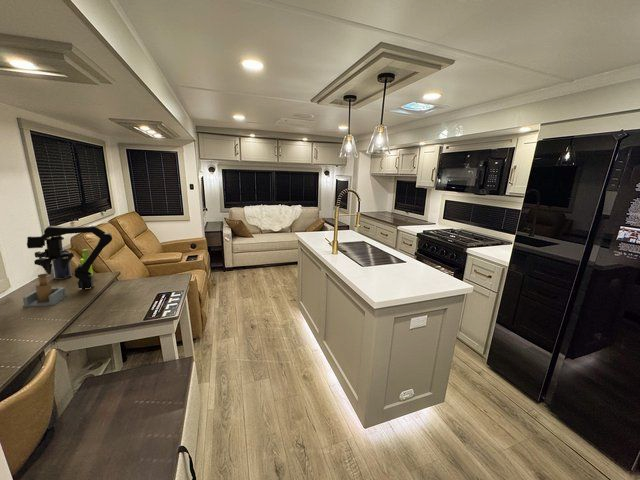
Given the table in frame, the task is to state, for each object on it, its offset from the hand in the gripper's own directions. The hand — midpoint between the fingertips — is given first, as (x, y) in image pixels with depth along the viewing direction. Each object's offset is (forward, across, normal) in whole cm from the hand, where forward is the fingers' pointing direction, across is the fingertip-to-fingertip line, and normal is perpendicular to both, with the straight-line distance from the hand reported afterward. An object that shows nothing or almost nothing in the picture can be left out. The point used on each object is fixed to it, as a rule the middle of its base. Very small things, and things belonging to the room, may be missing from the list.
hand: (56, 271), depth 158 cm
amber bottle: (+12, +14, +5) cm, 19 cm away
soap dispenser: (+13, -28, -6) cm, 31 cm away
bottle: (+13, -23, -19) cm, 32 cm away
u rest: (+13, +14, +5) cm, 19 cm away
